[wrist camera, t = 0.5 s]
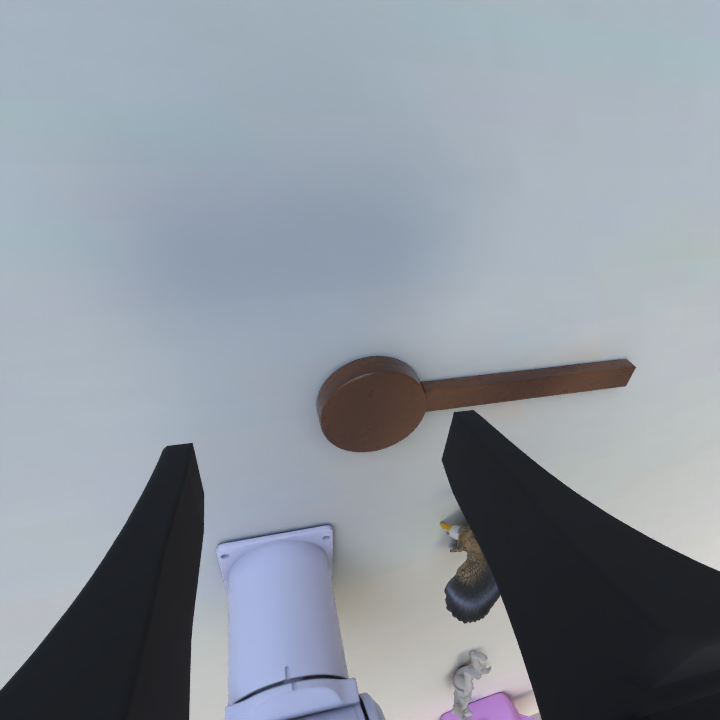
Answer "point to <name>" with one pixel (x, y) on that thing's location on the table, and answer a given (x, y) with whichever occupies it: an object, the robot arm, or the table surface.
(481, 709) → the teakettle
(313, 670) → the robot arm
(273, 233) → the table surface
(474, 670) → the soldier figure
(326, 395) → the round wooden paddle
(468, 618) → the eagle figurine
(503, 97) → the table surface
